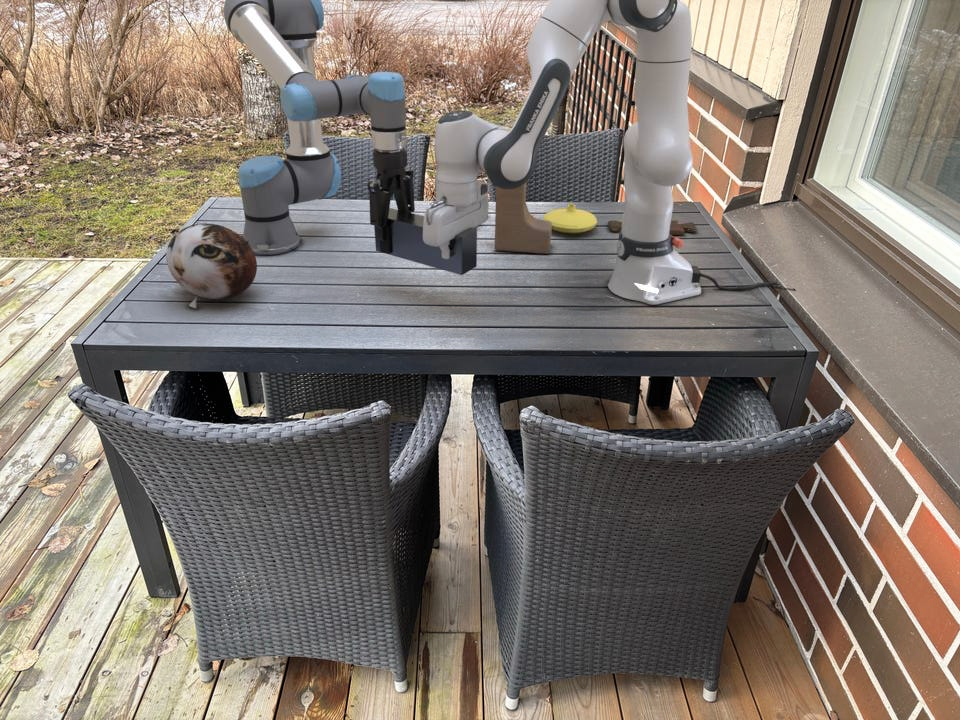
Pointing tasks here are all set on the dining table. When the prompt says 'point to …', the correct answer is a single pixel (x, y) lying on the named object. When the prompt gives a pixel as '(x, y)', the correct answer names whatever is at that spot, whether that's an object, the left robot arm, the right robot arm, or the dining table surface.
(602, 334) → the dining table surface
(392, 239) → the bar
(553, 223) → the yellow lid
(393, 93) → the left robot arm
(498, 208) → the decorative block
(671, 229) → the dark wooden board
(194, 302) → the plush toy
